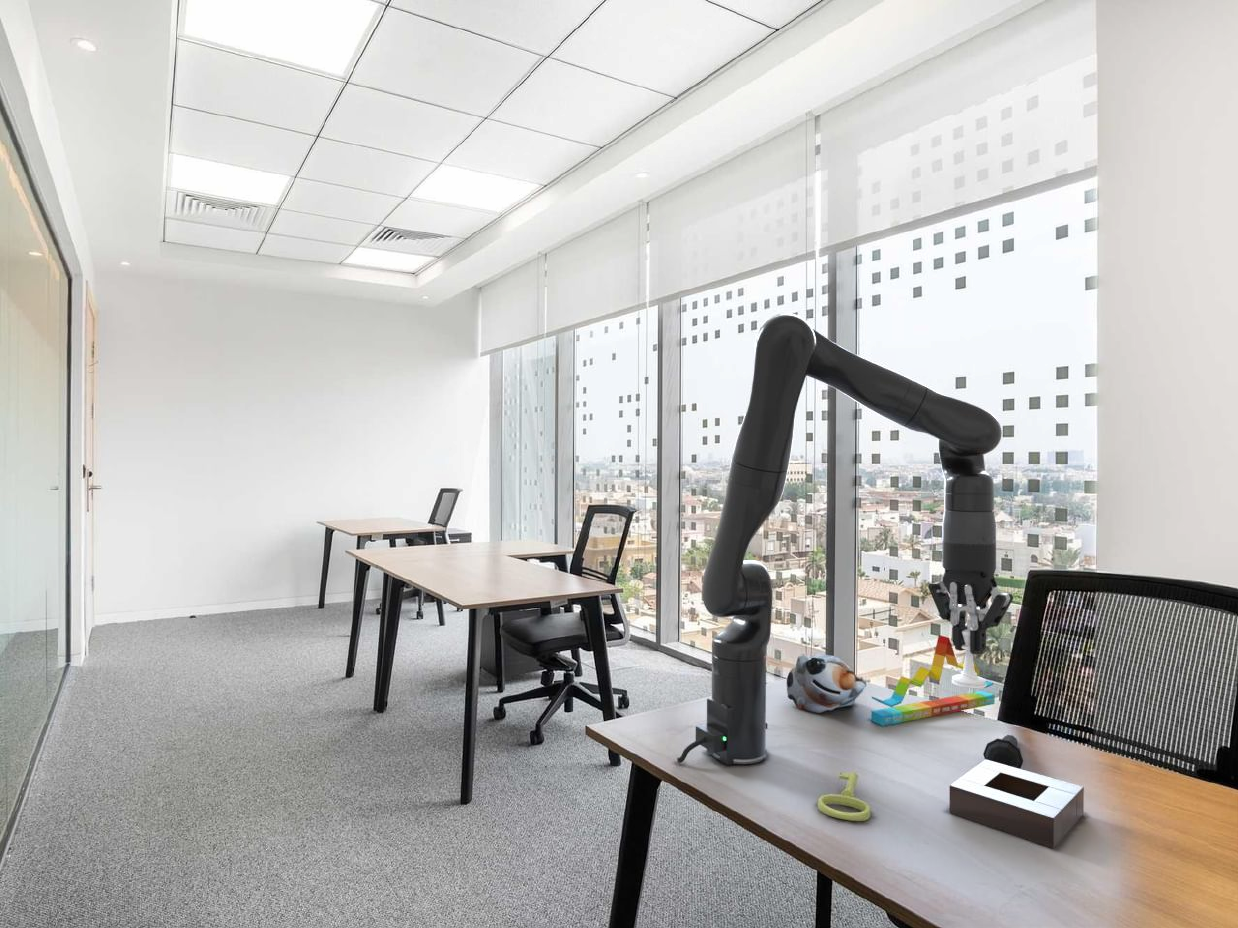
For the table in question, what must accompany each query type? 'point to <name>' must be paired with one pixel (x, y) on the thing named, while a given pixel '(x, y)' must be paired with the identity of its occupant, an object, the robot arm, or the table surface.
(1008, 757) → the microphone
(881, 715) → the chart
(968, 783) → the holder
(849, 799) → the key
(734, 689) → the robot arm
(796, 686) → the lucky cat figurine
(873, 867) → the table surface
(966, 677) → the chess piece
